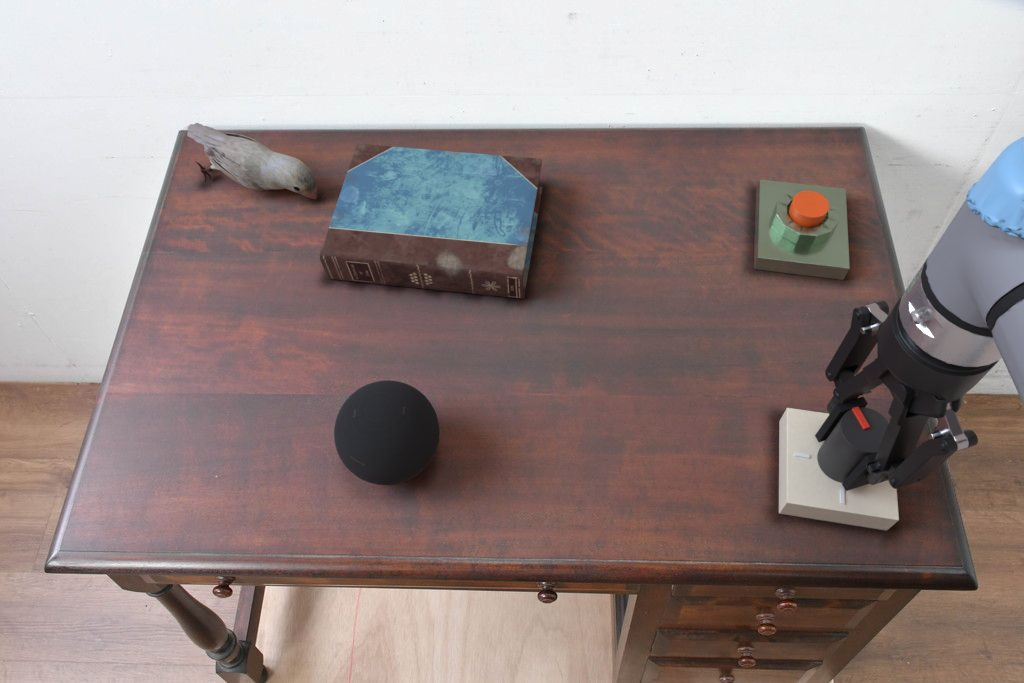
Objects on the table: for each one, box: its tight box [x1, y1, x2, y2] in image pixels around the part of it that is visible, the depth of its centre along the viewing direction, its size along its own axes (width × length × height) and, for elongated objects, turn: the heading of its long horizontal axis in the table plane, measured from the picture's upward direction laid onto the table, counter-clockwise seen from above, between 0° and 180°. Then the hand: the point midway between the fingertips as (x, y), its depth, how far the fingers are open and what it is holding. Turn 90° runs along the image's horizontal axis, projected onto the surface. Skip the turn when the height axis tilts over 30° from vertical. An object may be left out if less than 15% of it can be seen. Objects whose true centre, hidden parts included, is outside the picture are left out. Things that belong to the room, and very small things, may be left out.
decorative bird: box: [186, 122, 318, 200], centre depth 98 cm, size 5×16×8 cm, turn 70°
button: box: [789, 191, 829, 227], centre depth 90 cm, size 4×4×2 cm
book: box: [319, 143, 543, 299], centre depth 94 cm, size 23×18×5 cm
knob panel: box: [778, 407, 900, 531], centre depth 77 cm, size 10×10×3 cm
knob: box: [817, 407, 889, 483], centre depth 72 cm, size 4×4×7 cm
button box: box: [753, 179, 851, 281], centre depth 92 cm, size 12×10×4 cm
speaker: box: [333, 380, 440, 486], centre depth 76 cm, size 10×10×10 cm
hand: (843, 458), depth 75 cm, fingers closed on knob, 4 cm apart
